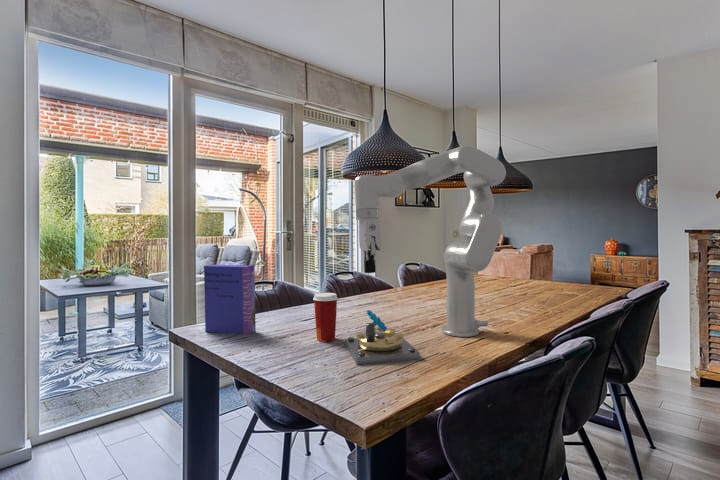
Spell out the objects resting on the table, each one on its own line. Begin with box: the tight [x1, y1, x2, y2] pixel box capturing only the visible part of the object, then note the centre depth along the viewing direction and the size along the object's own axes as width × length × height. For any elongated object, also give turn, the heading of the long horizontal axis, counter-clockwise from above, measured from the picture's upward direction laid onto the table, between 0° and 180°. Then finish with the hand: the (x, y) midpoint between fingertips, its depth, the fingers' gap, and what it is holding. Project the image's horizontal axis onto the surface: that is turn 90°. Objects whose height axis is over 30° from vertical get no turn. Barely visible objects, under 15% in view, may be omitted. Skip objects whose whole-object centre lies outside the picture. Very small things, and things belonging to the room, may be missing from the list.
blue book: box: [203, 264, 257, 336], centre depth 142 cm, size 17×5×24 cm, turn 74°
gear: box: [366, 309, 388, 331], centre depth 142 cm, size 11×6×10 cm
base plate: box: [344, 337, 421, 365], centre depth 118 cm, size 18×18×3 cm
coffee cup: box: [312, 292, 339, 343], centre depth 131 cm, size 8×8×15 cm
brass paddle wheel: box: [356, 322, 404, 351], centre depth 118 cm, size 13×13×7 cm
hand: (370, 272), depth 126 cm, fingers closed
